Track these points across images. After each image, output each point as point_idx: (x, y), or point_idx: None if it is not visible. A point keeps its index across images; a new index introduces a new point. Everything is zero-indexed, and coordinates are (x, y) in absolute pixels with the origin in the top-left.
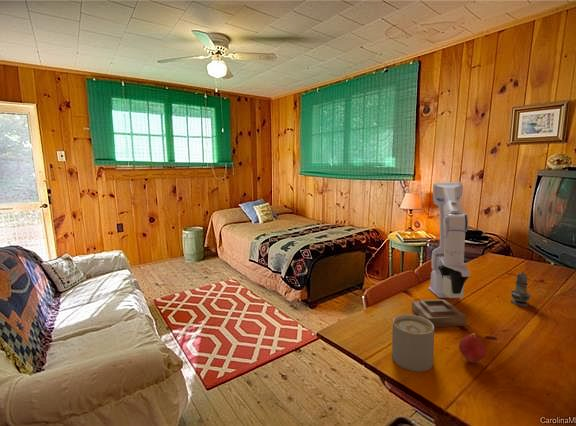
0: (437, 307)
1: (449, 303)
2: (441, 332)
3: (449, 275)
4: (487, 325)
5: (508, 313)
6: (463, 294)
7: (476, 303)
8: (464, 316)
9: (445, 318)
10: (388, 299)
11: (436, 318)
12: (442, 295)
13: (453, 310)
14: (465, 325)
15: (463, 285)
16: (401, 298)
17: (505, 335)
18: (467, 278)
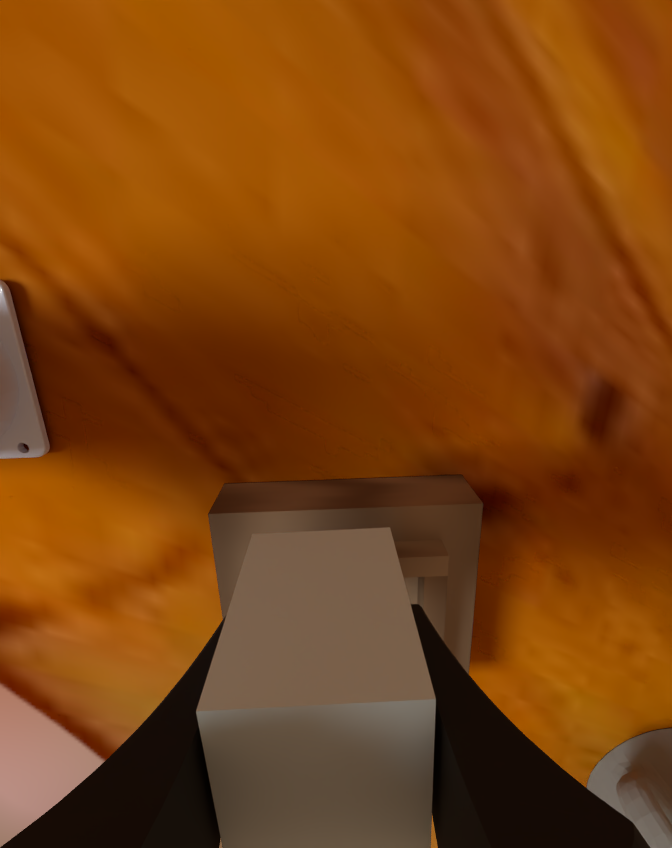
0: None
1: (267, 515)
2: (504, 621)
3: (217, 799)
4: (472, 341)
5: (307, 23)
6: (394, 547)
7: (119, 201)
8: (474, 513)
9: (470, 621)
10: (116, 738)
11: (467, 667)
12: (14, 424)
13: (438, 580)
14: (462, 479)
15: (417, 633)
16: (92, 675)
17: (601, 304)
18: (587, 790)
